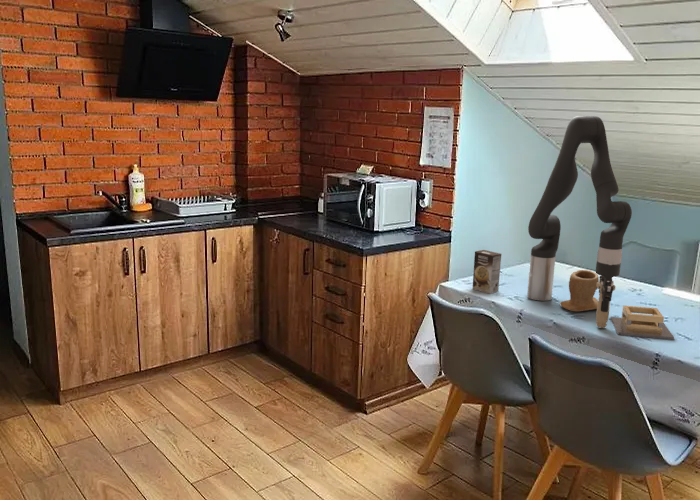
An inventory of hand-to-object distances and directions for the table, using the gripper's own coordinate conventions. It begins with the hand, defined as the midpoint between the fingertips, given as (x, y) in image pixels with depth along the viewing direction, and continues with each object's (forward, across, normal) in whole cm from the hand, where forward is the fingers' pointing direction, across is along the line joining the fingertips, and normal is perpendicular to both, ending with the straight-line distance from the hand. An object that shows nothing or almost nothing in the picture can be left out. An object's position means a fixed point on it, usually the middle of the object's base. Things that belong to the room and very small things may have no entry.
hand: (603, 309), depth 208 cm
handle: (+6, 0, 0) cm, 6 cm away
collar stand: (+7, -3, +13) cm, 15 cm away
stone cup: (+7, -20, -4) cm, 21 cm away
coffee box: (+8, -35, -40) cm, 54 cm away
